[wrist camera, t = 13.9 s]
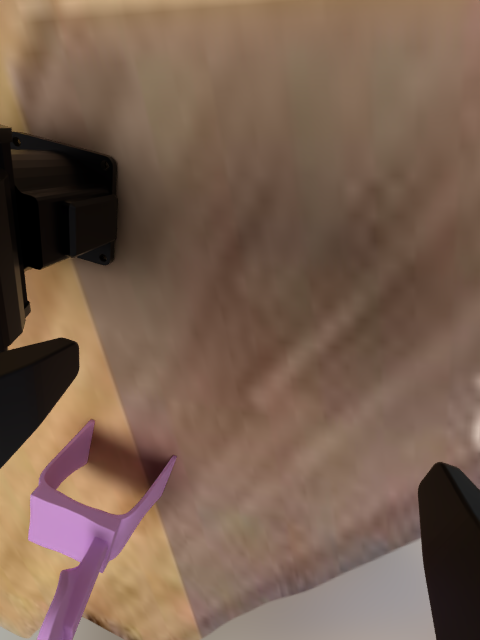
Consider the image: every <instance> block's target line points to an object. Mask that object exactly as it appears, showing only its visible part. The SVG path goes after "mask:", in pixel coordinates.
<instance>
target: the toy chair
mask: <svg viewBox="0 0 480 640" xmlns="http://www.w3.org/2000/svg"><path fill="white" fill-rule="evenodd" d="M94 424H95V421H94V420H92V419H91V420H90V421H89V422H88V423H87V424H86V425H85V426H84V427H83V428H82V429H81V430H80V431H79V433H78V434H77V435H76V436H75V437H74V438H73V439H72V440H71V441H70V442H69V443H68V444H67V445H66V446H65V447H64V448H63V449H62V450H61V451H60V452H59V453H58V455H57V456H56V457H55V458H54V459H53V460H52V461H51V462H50V463H49V464H48V465H47V466H46V468H45V469H44V470H43V471H42V473H41V475H40V478H39V486H38V487H37V488H36V489H35V490H34V492H33V493H32V494H31V499H30V510H31V517H30V527H29V536H28V540H29V541H31V542H34V543H36V544H38V545H40V546H43V547H45V548H48V549H51V550H54V551H57V552H60V553H62V554H64V555H67V556H69V557H71V558H73V559H75V560H77V561H79V562H80V564H79V566H77V567H75V568H72V569H66V570H62V571H61V573H60V578H59V583H58V587H57V590H56V593H55V596H54V599H53V601H52V603H51V605H50V608H49V610H48V612H47V614H46V617H45V619H44V622H43V624H42V626H41V629H40V632H39V635H38V638H37V640H72V639H73V637H74V634H75V632H76V629H77V627H78V624H79V622H80V619H81V617H82V614H83V612H84V609H85V607H86V604H87V602H88V599H89V597H90V594H91V591H92V589H93V586H94V584H95V581H96V579H97V576H98V574H99V572H101V573H103V571H104V569H105V568H106V566H107V564H108V562H109V561H110V560H112V559H114V558H115V557H116V556H117V555H118V554H119V553H120V552H121V550H122V549H123V547H124V546H125V544H126V543H127V541H128V540H129V538H130V536H131V535H132V533H133V532H134V530H135V529H136V527H137V525H138V524H139V522H140V521H141V520H142V518H143V517H144V515H145V514H146V513H147V512H148V510H149V509H150V508H151V507H152V506H153V505H154V503H155V502H156V501H157V500H158V499H159V498H160V497H161V496H162V493H163V491H164V488H165V486H166V483H167V481H168V478H169V476H170V473H171V471H172V468H173V466H174V463H175V460H176V458H177V456H175V455H173V456H172V458H171V459H170V461H169V462H168V463H167V465H166V466H165V468H164V469H163V471H162V472H161V473H160V475H159V476H158V478H157V479H156V480H155V482H154V483H153V484H152V486H151V487H150V489H149V490H148V491H147V492H146V494H145V495H144V496H143V497H142V499H141V500H140V501H139V502H138V503H137V504H136V505H135V506H134V507H133V508H132V509H131V510H130V511H129V512H128V513H126V514H123V515H114V514H110V513H107V512H104V511H102V510H99V509H95V508H92V507H89V506H86V505H84V504H81V503H79V502H77V501H75V500H73V499H71V498H69V497H68V496H66V495H64V494H63V493H61V492H59V491H57V490H56V489H57V488H58V486H59V485H60V484H61V482H62V481H64V480H65V479H66V478H67V477H68V476H69V475H70V474H72V473H73V472H74V471H76V470H77V469H79V468H80V467H82V466H84V465H85V464H86V463H87V461H88V456H89V451H90V445H91V440H92V434H93V429H94Z"/></svg>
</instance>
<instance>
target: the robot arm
mask: <svg viewBox="0 0 480 640" xmlns="http://www.w3.org/2000/svg"><path fill="white" fill-rule="evenodd" d="M18 138H19V140H20V142H21V144H19V142H18ZM105 161H107V162H108V164H109V168H108V169H106V167H105ZM116 175H117V165H116V162H115V160H114V159H113V158H112V157H111V156H108V155H104V154H101V153H97V152H93V151H89V150H86V149H82V148H78V147H74V146H71V145H67V144H63V143H59V142H56V141H52V140H48V139H44V138H40V137H37V136H33V135H29V134H25V133H22V132H12V129H11V127H8V126H4V125H0V469H1V467H2V466H3V465H4V464H5V463H6V462H7V461H8V460H9V459H10V458H11V456H12V455H13V454H14V453H15V452H16V451H17V450H18V449H19V448H20V447H21V446H22V444H23V443H24V442H25V441H26V440H27V439H28V438H29V437H30V436H31V435H32V433H33V432H34V431H35V430H36V429H37V428H38V427H39V425H40V424H41V423H42V422H43V420H44V419H45V418H46V417H47V415H48V414H49V413H50V411H51V410H52V408H53V407H54V406H55V404H56V403H57V402H58V400H59V399H60V398H61V396H62V395H63V394H64V392H65V391H66V390H67V388H68V387H69V386H70V384H71V383H72V382H73V380H74V379H75V378H76V376H77V374H78V371H79V346H78V344H77V343H76V342H75V341H72V340H69V339H66V338H57V339H53V340H49V341H45V342H41V343H37V344H33V345H29V346H24V347H20V348H16V349H12V350H8V346H9V345H11V344H12V343H13V341H14V340H15V339H16V338H17V337H18V336H19V335H20V334H21V333H22V332H23V328H24V325H25V321H26V320H25V318H26V317H27V316H28V314H29V313H30V312H31V309H30V302H29V301H27V293H26V284H25V275H24V272H25V271H27V270H30V269H32V268H34V269H38V270H41V269H43V268H45V267H48V266H50V265H53V264H55V263H58V262H60V261H62V260H65V259H67V258H70V257H71V258H75V257H77V258H81V259H84V260H87V261H91V262H94V263H98V264H101V265H108V264H110V263H111V262H112V261H113V258H114V240H115V239H116V232H117V206H118V199H117V197H116ZM103 254H104V255H105V256H106V258H107V260H106V259H104V257H103ZM418 501H419V515H420V529H421V542H422V555H423V564H424V570H425V577H426V583H427V588H428V594H429V600H430V605H431V611H432V617H433V622H434V628H435V634H436V640H480V490H479V489H478V488H477V487H476V486H475V485H474V484H473V483H472V482H471V481H470V479H469V478H468V477H467V476H466V475H465V474H464V473H463V472H462V471H461V470H460V469H459V468H457V467H455V466H452V465H449V464H446V463H443V462H437V463H435V464H434V466H433V467H432V468H431V469H430V471H429V472H428V473H427V475H426V476H425V477H424V479H423V480H422V481H421V483H420V485H419V488H418Z"/></svg>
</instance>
